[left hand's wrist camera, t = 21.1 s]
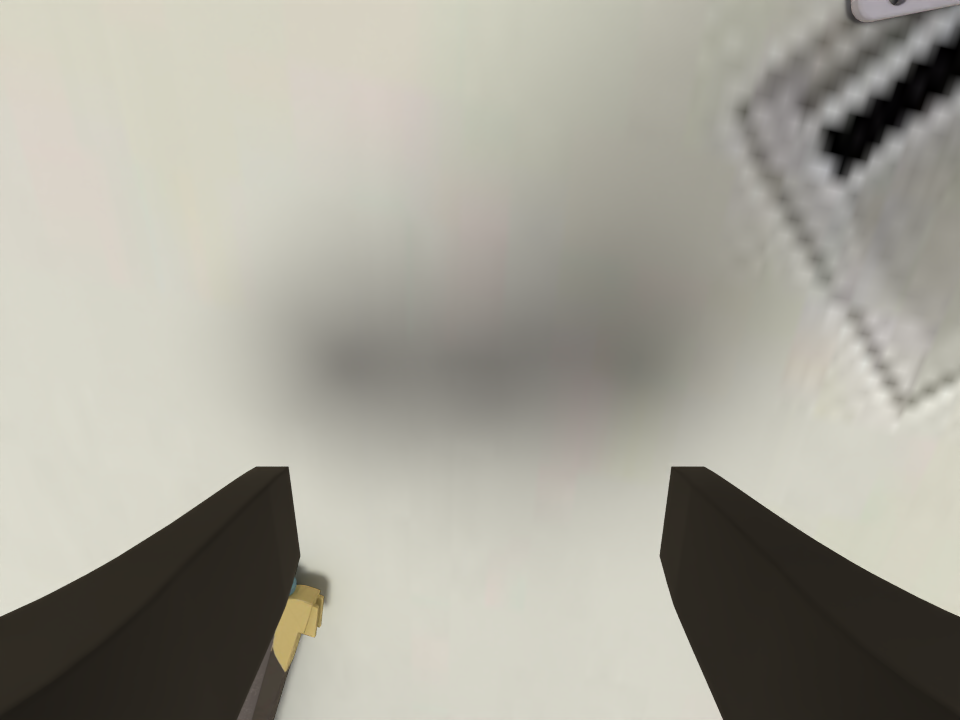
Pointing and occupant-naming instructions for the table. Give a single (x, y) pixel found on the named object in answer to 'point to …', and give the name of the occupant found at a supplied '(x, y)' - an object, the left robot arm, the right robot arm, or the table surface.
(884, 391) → the table surface
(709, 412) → the table surface
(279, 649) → the toy gun
